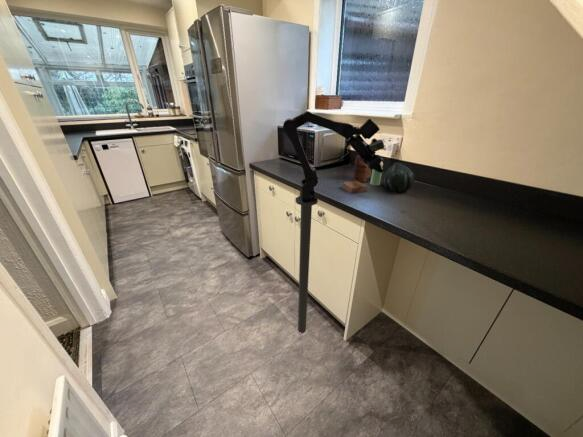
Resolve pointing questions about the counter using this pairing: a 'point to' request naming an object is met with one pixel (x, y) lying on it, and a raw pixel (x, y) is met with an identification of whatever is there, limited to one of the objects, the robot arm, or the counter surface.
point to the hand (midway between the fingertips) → (380, 170)
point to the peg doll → (376, 176)
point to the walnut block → (354, 187)
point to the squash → (398, 178)
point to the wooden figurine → (361, 171)
